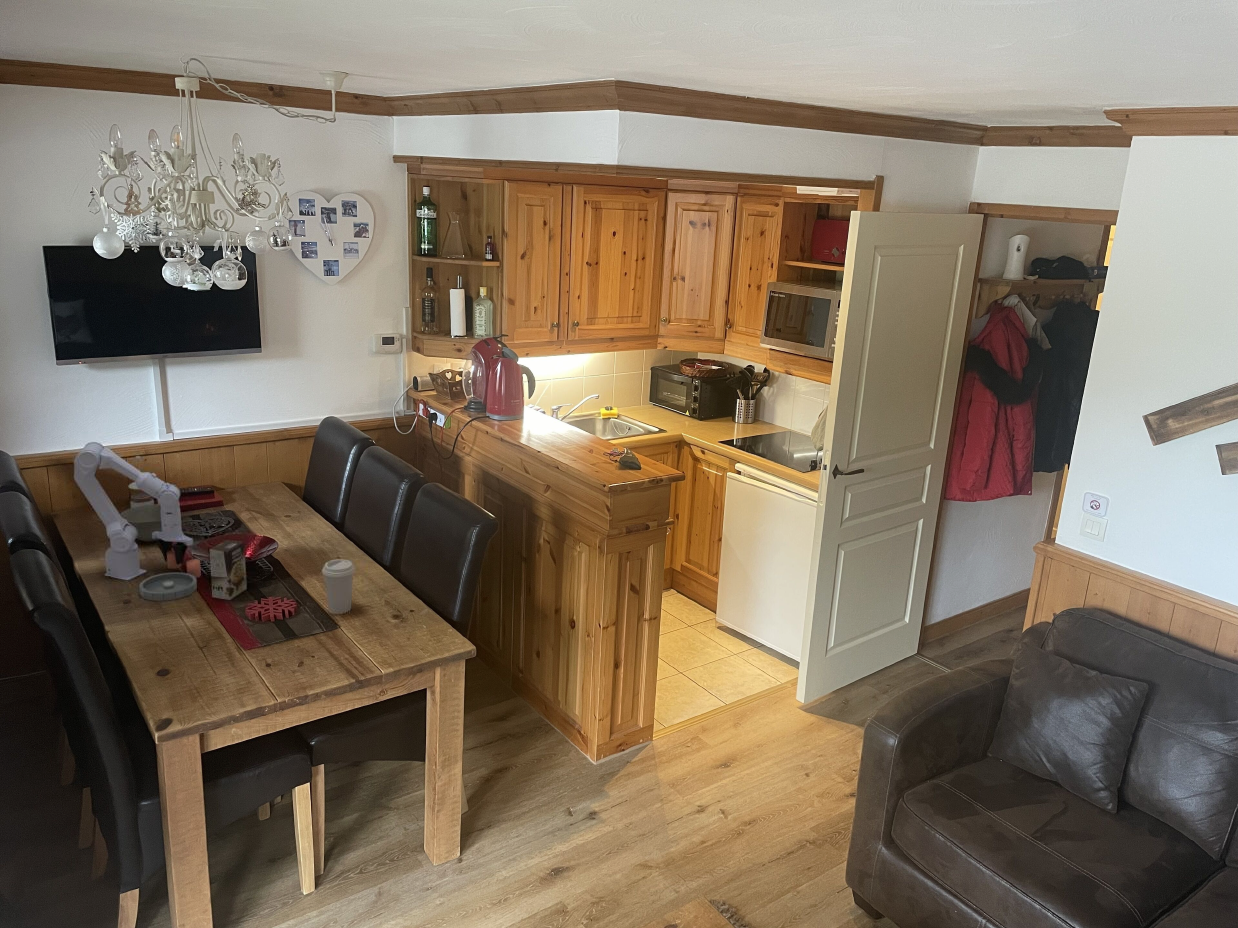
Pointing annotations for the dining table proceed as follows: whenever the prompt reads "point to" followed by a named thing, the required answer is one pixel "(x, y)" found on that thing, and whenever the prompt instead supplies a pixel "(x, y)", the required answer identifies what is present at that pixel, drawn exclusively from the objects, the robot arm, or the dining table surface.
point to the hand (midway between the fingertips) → (174, 562)
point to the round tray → (167, 594)
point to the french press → (140, 494)
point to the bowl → (144, 520)
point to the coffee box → (228, 569)
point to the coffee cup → (338, 585)
